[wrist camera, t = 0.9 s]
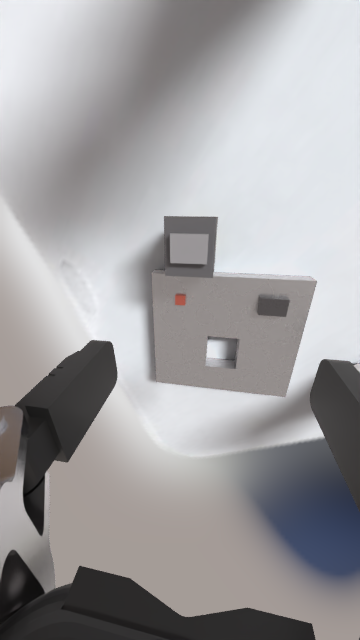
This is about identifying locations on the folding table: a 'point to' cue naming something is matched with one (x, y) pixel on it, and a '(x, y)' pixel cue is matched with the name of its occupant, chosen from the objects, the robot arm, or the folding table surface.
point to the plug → (190, 246)
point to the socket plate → (230, 329)
